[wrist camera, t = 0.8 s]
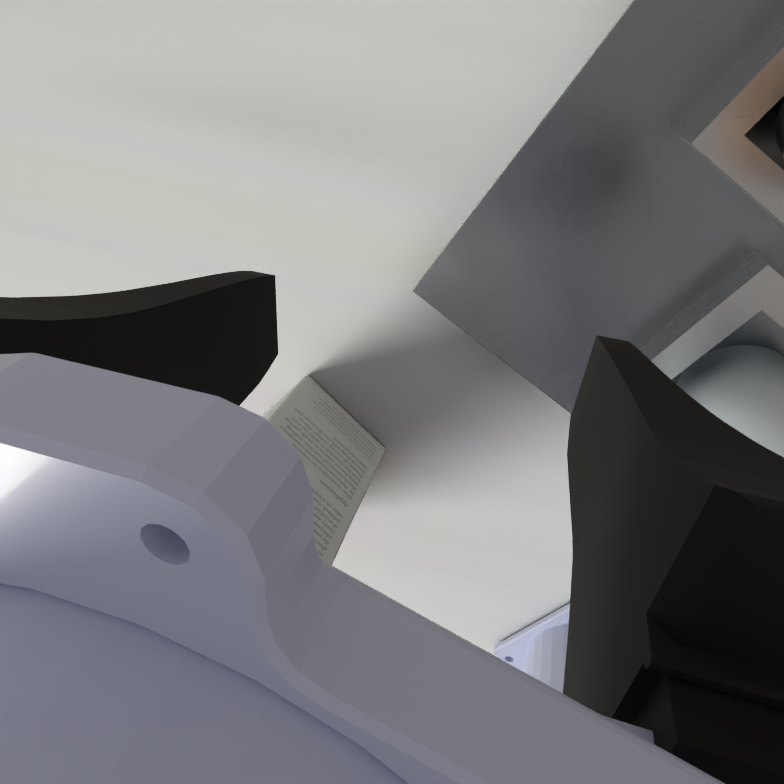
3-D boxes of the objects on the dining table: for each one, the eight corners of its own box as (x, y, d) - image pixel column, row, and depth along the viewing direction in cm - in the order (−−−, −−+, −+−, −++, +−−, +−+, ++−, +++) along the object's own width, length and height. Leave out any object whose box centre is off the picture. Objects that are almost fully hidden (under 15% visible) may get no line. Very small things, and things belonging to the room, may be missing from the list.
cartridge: (829, 393, 19) (950, 547, 13) (726, 458, 21) (787, 614, 15) (744, 322, 18) (828, 447, 12) (648, 396, 20) (680, 532, 14)
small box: (299, 513, 31) (195, 686, 22) (226, 448, 30) (87, 603, 21) (391, 448, 27) (305, 631, 18) (309, 370, 26) (177, 525, 17)
